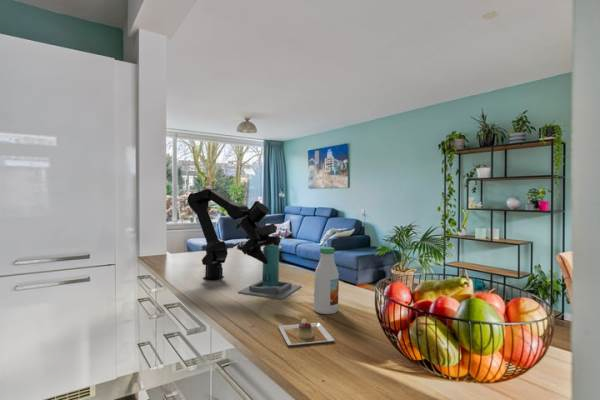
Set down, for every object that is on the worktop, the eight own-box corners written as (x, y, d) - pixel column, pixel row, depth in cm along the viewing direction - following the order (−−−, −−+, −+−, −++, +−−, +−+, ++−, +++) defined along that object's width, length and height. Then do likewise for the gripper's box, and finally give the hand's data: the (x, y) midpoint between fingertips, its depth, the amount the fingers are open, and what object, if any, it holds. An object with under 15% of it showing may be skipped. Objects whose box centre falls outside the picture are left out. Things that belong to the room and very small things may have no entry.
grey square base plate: (237, 292, 122) (237, 287, 122) (261, 281, 138) (261, 276, 138) (282, 299, 115) (282, 293, 115) (301, 287, 132) (301, 281, 132)
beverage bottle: (279, 286, 130) (280, 235, 130) (278, 291, 124) (279, 237, 123) (262, 285, 130) (264, 235, 130) (260, 290, 123) (262, 237, 123)
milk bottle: (321, 316, 100) (323, 250, 100) (309, 308, 107) (310, 246, 107) (342, 312, 103) (344, 248, 103) (329, 305, 110) (331, 245, 110)
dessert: (334, 344, 82) (335, 325, 82) (287, 349, 79) (288, 329, 79) (319, 326, 94) (319, 309, 94) (277, 329, 90) (278, 312, 90)
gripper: (248, 217, 121) (272, 251, 115) (277, 215, 137) (300, 245, 131) (231, 237, 125) (254, 270, 119) (262, 233, 141) (283, 262, 135)
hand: (274, 261), depth 126 cm, fingers open, 9 cm apart
